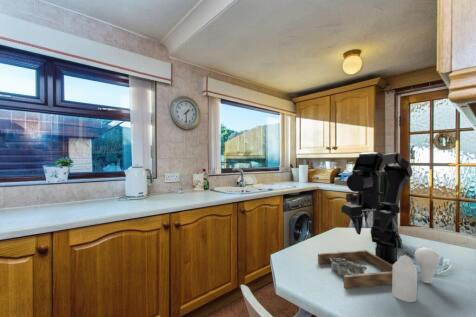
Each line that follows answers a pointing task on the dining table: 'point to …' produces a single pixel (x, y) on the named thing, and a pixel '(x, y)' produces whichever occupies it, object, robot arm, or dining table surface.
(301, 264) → the dining table surface
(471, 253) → the dining table surface
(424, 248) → the lightbulb
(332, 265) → the egg carton
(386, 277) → the open wooden frame
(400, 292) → the roll
